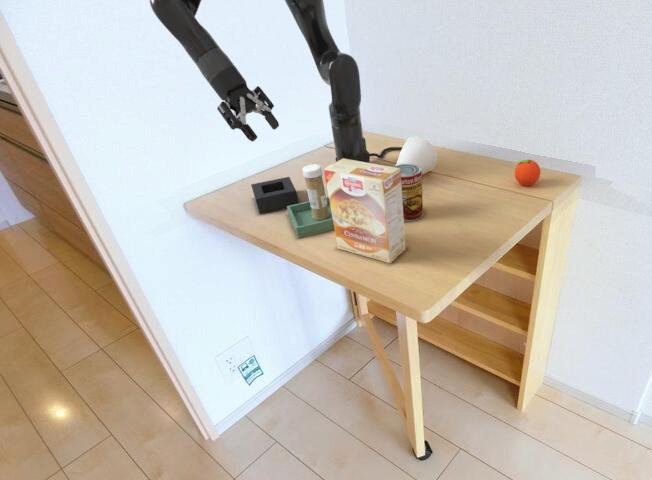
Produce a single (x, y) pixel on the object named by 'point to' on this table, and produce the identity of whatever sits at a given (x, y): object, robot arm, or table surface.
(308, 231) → the tray
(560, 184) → the table surface
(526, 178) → the clementine
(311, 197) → the spice jar
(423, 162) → the rocket engine
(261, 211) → the holder
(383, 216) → the coffeecake box
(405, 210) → the canned food
